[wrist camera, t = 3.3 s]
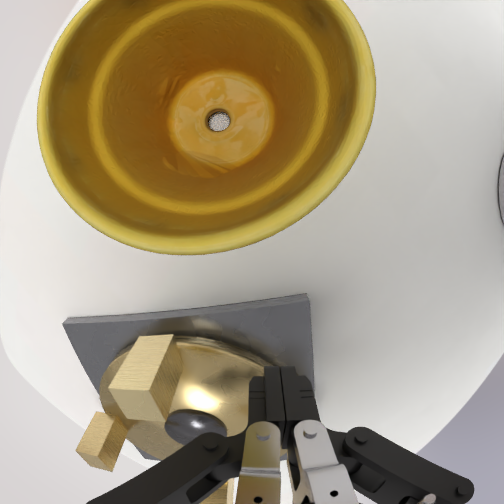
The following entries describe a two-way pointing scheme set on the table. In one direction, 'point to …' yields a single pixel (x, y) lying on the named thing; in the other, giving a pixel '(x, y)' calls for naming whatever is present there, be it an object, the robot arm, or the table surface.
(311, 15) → the plant pot
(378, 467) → the robot arm
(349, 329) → the table surface
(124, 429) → the pegged brass disc
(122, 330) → the flange plate
